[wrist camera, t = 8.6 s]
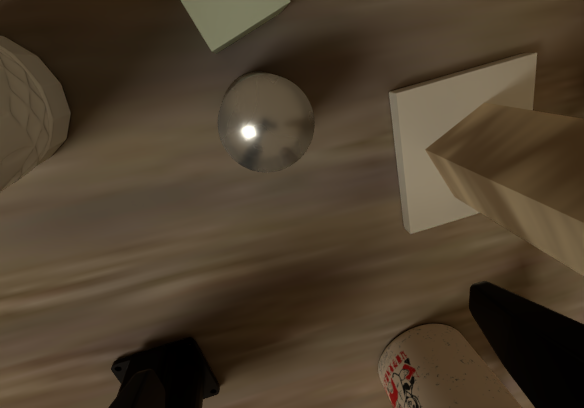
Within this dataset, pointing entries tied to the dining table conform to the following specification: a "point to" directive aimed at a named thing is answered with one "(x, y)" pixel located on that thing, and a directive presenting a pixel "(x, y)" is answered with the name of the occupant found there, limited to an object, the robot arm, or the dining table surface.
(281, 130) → the grey cylinder
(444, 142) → the oak block
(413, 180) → the tile
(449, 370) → the teacup with lid
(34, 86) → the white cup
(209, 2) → the sage cube
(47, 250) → the dining table surface
